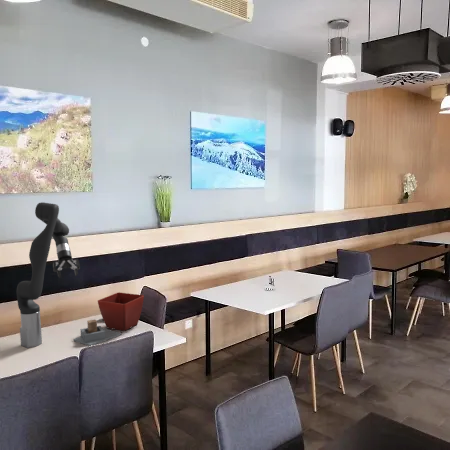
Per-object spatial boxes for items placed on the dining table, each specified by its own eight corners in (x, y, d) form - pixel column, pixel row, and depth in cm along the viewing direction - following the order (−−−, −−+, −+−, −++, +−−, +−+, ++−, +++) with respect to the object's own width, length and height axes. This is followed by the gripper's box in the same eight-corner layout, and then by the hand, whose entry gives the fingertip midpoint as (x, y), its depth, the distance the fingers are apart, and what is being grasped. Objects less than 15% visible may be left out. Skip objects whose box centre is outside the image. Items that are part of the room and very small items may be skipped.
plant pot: (125, 333, 246) (124, 303, 244) (98, 329, 254) (96, 300, 252) (145, 323, 263) (144, 295, 261) (119, 319, 271) (118, 292, 269)
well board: (90, 346, 228) (89, 336, 228) (73, 340, 237) (73, 331, 236) (121, 334, 244) (120, 325, 244) (104, 329, 253) (103, 321, 252)
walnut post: (89, 339, 235) (88, 322, 234) (88, 337, 239) (87, 320, 238) (97, 338, 237) (96, 321, 236) (95, 335, 241) (95, 319, 240)
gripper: (51, 250, 254) (55, 274, 246) (77, 248, 261) (82, 270, 252) (50, 258, 260) (54, 281, 251) (76, 255, 266) (80, 278, 258)
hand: (68, 276), depth 252 cm, fingers open, 8 cm apart
